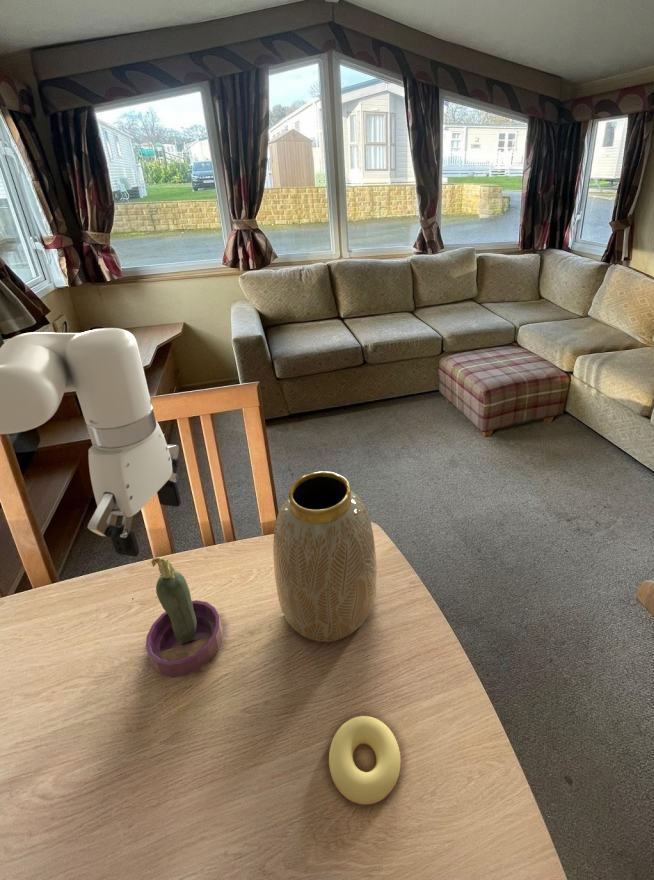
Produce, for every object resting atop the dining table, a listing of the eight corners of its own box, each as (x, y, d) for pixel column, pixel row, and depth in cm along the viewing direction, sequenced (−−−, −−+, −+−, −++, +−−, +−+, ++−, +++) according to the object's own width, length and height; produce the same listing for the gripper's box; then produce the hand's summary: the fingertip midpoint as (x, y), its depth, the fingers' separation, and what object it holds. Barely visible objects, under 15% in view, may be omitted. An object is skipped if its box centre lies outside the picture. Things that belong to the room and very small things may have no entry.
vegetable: (207, 634, 82) (184, 548, 73) (193, 659, 78) (168, 571, 69) (183, 630, 83) (158, 544, 74) (168, 654, 79) (140, 567, 70)
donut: (377, 724, 72) (318, 752, 67) (379, 699, 71) (318, 726, 66) (412, 790, 63) (347, 827, 59) (414, 763, 62) (348, 798, 58)
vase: (350, 556, 98) (344, 446, 86) (395, 622, 84) (395, 503, 73) (267, 594, 90) (248, 479, 78) (303, 674, 76) (287, 549, 65)
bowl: (149, 693, 74) (142, 675, 72) (155, 628, 84) (149, 611, 82) (225, 669, 77) (220, 651, 75) (222, 609, 87) (218, 592, 85)
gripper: (140, 390, 69) (163, 485, 77) (41, 462, 54) (82, 571, 62) (187, 395, 68) (206, 491, 76) (100, 470, 53) (135, 581, 60)
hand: (150, 527), depth 69 cm, fingers open, 9 cm apart
